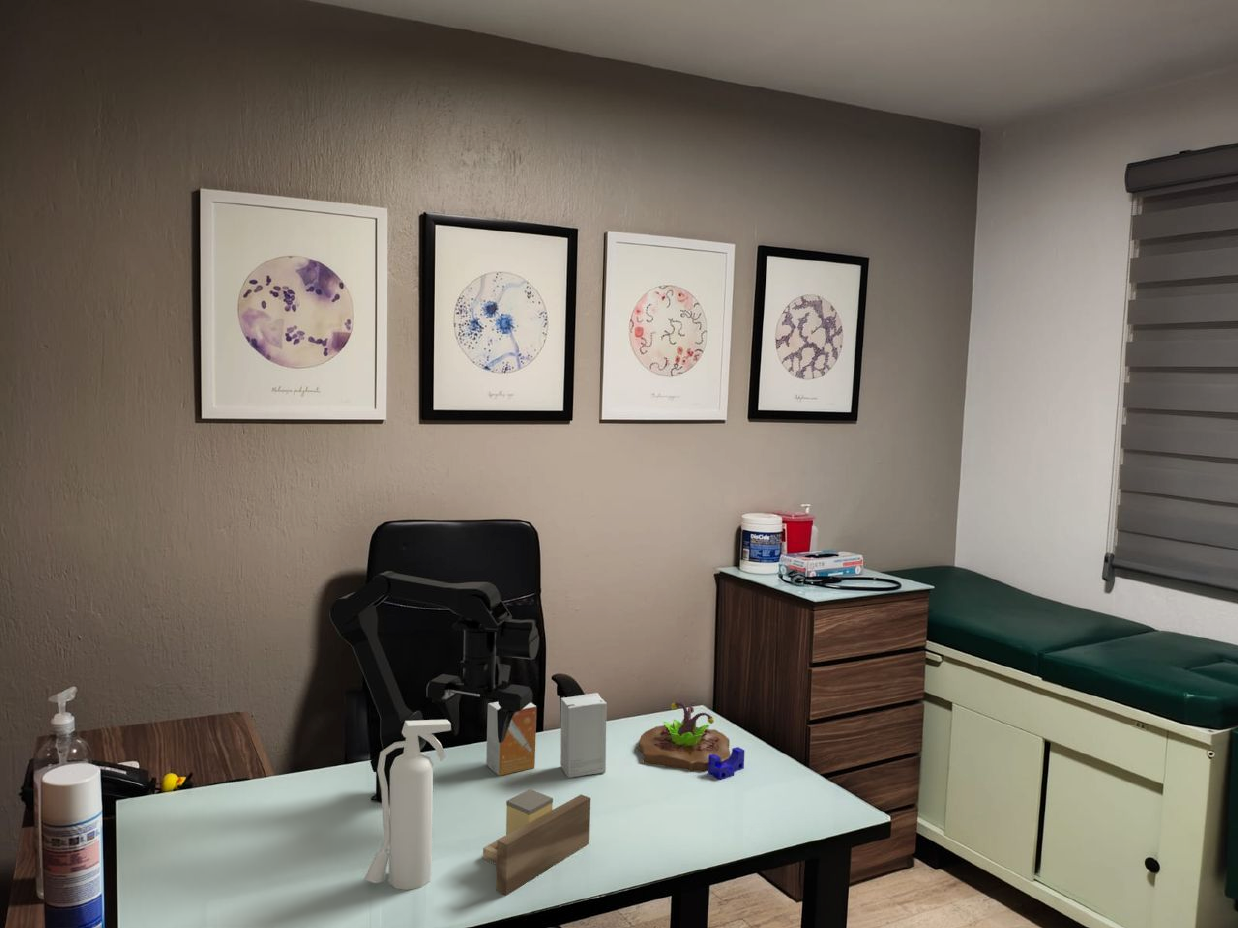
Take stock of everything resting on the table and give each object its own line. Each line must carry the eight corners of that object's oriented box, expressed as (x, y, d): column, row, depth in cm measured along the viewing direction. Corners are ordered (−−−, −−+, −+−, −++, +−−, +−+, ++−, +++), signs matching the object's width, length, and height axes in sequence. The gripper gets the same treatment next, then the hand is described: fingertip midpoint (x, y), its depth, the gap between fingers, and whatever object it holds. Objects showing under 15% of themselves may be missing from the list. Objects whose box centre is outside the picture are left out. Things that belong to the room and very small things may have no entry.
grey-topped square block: (505, 860, 141) (506, 800, 141) (528, 846, 146) (530, 788, 145) (528, 871, 138) (529, 810, 138) (551, 856, 143) (553, 798, 142)
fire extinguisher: (359, 874, 136) (366, 718, 133) (436, 861, 141) (444, 711, 139) (366, 898, 129) (374, 736, 127) (446, 883, 135) (456, 727, 133)
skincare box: (597, 761, 180) (599, 691, 179) (606, 774, 174) (608, 701, 173) (557, 766, 177) (559, 695, 176) (566, 779, 172) (568, 705, 170)
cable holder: (719, 780, 173) (720, 761, 173) (707, 774, 176) (708, 755, 176) (748, 771, 178) (749, 752, 178) (737, 765, 181) (737, 746, 181)
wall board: (458, 871, 138) (459, 822, 137) (543, 824, 154) (544, 780, 153) (505, 895, 131) (506, 844, 131) (589, 843, 147) (590, 797, 147)
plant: (642, 731, 198) (643, 683, 197) (728, 737, 196) (730, 689, 195) (634, 769, 178) (636, 715, 177) (731, 776, 176) (733, 722, 175)
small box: (499, 777, 172) (500, 712, 171) (485, 765, 177) (486, 702, 176) (535, 768, 176) (537, 705, 175) (521, 756, 181) (522, 695, 180)
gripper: (545, 648, 161) (543, 730, 162) (456, 636, 167) (455, 715, 168) (519, 665, 151) (517, 752, 152) (425, 651, 157) (424, 736, 158)
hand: (478, 738), depth 158 cm, fingers open, 9 cm apart
